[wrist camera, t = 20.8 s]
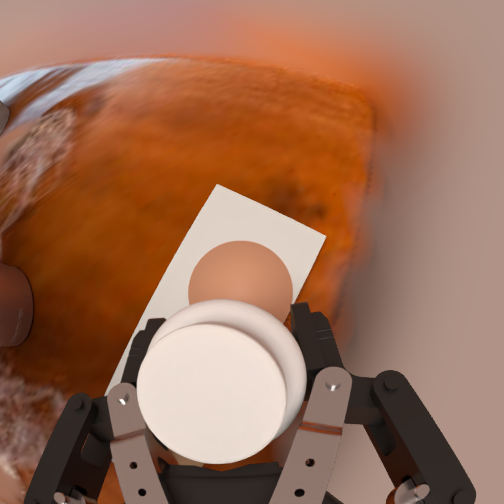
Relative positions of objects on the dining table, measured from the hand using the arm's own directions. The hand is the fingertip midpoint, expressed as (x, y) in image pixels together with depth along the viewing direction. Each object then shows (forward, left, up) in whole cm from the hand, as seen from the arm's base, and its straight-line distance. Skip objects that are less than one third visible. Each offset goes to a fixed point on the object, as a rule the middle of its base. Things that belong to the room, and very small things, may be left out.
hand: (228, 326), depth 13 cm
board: (-2, -4, -11) cm, 11 cm away
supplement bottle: (+1, -1, -4) cm, 5 cm away
